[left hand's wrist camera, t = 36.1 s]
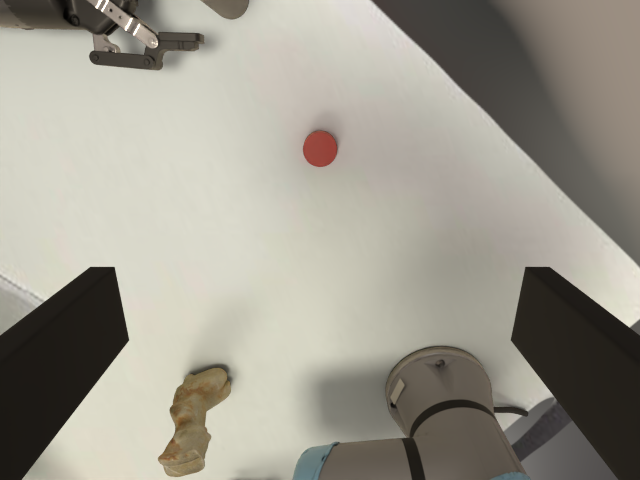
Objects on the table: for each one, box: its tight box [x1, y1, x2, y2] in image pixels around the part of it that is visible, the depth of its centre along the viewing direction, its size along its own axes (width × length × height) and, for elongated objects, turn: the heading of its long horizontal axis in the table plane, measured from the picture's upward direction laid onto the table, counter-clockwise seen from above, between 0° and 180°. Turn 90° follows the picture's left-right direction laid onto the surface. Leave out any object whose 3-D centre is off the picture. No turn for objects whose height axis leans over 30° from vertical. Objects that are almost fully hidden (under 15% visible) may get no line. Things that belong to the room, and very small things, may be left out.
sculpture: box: [158, 368, 231, 477], centre depth 52 cm, size 6×7×15 cm
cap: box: [303, 131, 337, 167], centre depth 46 cm, size 4×4×2 cm
